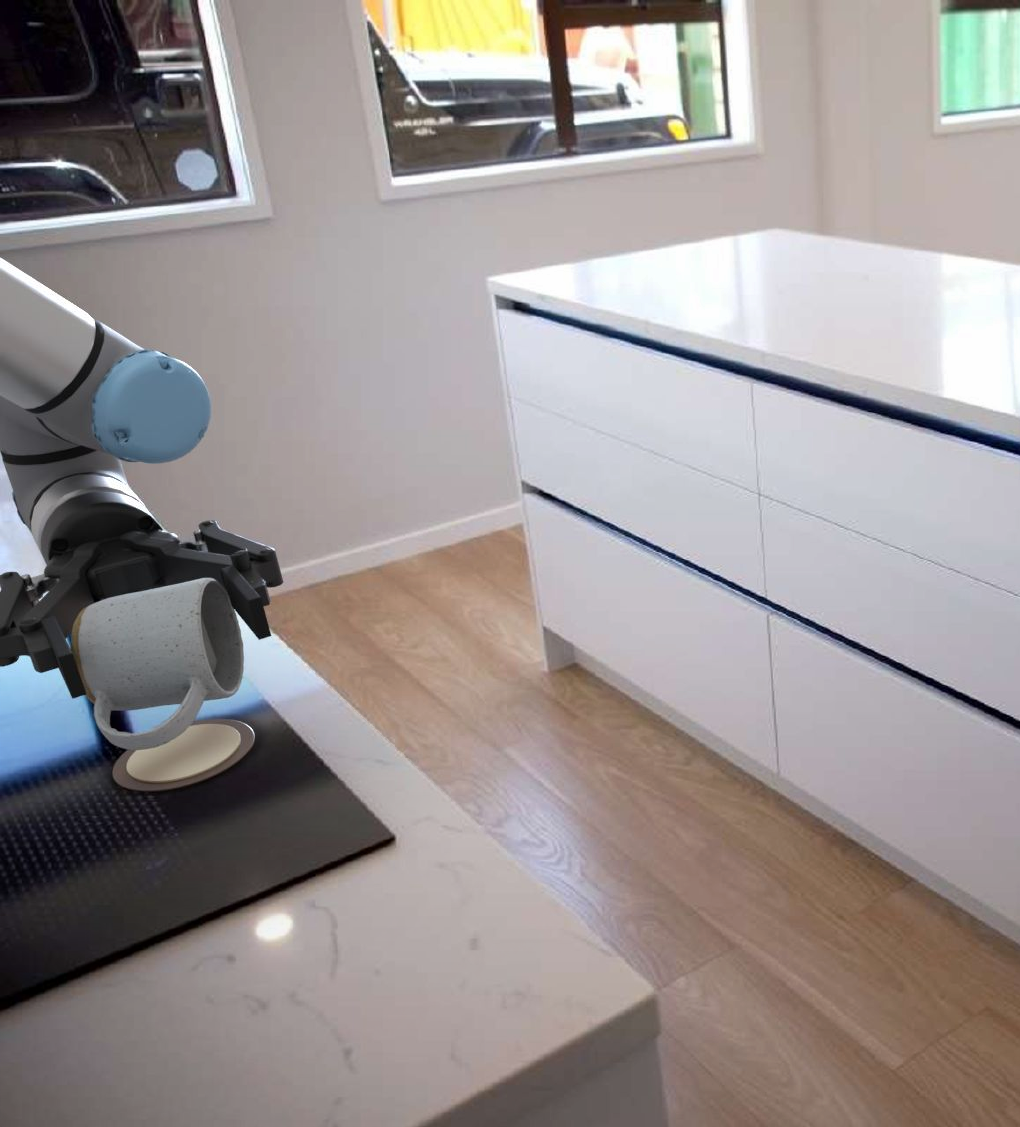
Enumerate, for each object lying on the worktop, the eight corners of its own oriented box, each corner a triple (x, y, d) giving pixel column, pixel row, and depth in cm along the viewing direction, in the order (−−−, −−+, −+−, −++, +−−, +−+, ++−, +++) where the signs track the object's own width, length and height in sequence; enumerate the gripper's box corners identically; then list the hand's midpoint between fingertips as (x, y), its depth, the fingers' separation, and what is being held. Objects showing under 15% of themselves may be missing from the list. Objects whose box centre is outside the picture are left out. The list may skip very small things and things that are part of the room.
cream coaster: (87, 801, 94) (83, 790, 94) (157, 729, 103) (154, 719, 103) (220, 797, 94) (216, 786, 93) (278, 725, 103) (275, 715, 103)
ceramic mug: (123, 679, 85) (87, 576, 82) (252, 660, 87) (223, 558, 84) (72, 767, 76) (30, 654, 73) (219, 744, 78) (184, 633, 74)
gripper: (271, 542, 100) (368, 640, 84) (-63, 635, 88) (-26, 770, 72) (247, 452, 97) (343, 535, 81) (-102, 535, 85) (-73, 653, 69)
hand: (169, 646), depth 76 cm, fingers closed on ceramic mug, 10 cm apart
